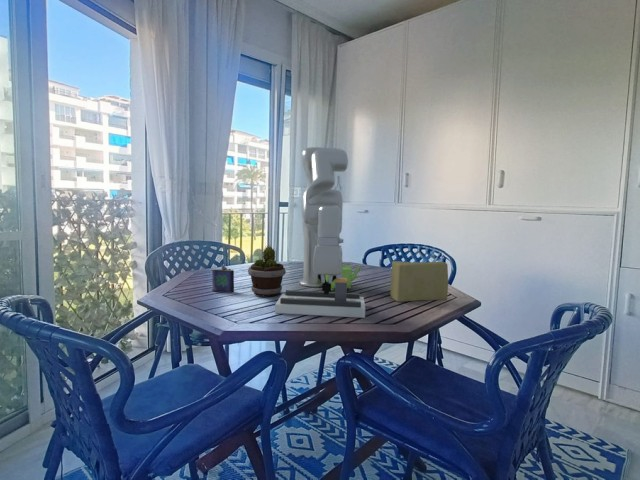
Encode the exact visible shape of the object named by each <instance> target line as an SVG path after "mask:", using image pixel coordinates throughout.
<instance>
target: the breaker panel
mask: <svg viewBox="0 0 640 480" xmlns="http://www.w3.org/2000/svg"><path fill="white" fill-rule="evenodd" d="M360 295H361V294H360V293H358V292H357V293H356V292H355V293H354V292H347V296H346V301H338V300H335V291H331V292H329V294H328V295H327V294H325V295H324V291H318V290H317V291H315V290H314V291H313V290H312V291H311V290H297V289H296V290H295V289H293V290H291V289H286V290H285V292H283V293H281V295H280V296H279V298H278V300H277V301H276V303H275V304H274V314H286V315H306V316H307V315H309V316H322V317H323V316H327V317H342V318H361V319H363V318H366V303H365V297H364V296H360Z"/></svg>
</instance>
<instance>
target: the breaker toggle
mask: <svg viewBox="0 0 640 480" xmlns="http://www.w3.org/2000/svg"><path fill="white" fill-rule="evenodd" d="M334 292H335V300H338V301H346V296H347V293H348V288H347V278H338V279H336V280H335V290H334Z"/></svg>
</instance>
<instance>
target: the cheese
mask: <svg viewBox="0 0 640 480" xmlns="http://www.w3.org/2000/svg"><path fill="white" fill-rule="evenodd" d="M448 265H449V264H448V263H446V262H444V261H430V262H429V261H427V262H425V261H424V262H421V261H420V262H416V261H415V262H412V261H411V262H410V261H399V260H397V261H396V260H392V262H391V275H390V277H391V279H390V297H391V298H392V299H393V300H394V301H396V302H398V303H401V302H402V303H403V302H404V303H405V302H417V301H441V300H442V301H443V300H447V299H448V290H449V270H448Z"/></svg>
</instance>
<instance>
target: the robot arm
mask: <svg viewBox="0 0 640 480" xmlns="http://www.w3.org/2000/svg"><path fill="white" fill-rule="evenodd" d="M301 161H302V167H303V170H304V173H305V177H306V189H305V190H304V192H303V194H302V198H301V217H302V230H303V231H302V232H303V268H302V269H303V271H302V274H303V275H302V278H301V279H300V280H299V284H300V285H301V286H304V287H310V288H311V287H312V288H319V287H322V288H321V292H324V295H325V294H327V295H328V294H329V292H332V291H331V283H332V282H333V281H334V280H335V279H338V278H342V265H343V251H342V250H343V249H342V245H340V244H343V243H344V238H341V237H340V234H341V232H342V230H343V229H342V228H343V207H344V206H343V194H342V192H341V191H340V190H339V189H333V187H334V186H335V182H336V181H335V174H334V173H335V172H341V173H342V172H343V173H344V172H345V171H346V170H347V169H348V166H349V158H348V154H347V152H346V151H345V150H343V149H342V148H338V147H337V148H336V147H321V146H320V147H318V146H317V147H316V146H315V147H313V146H312V147H306V148H304V149H303V150H302V153H301ZM325 275H329V280H328V282H326V279H325Z"/></svg>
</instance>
